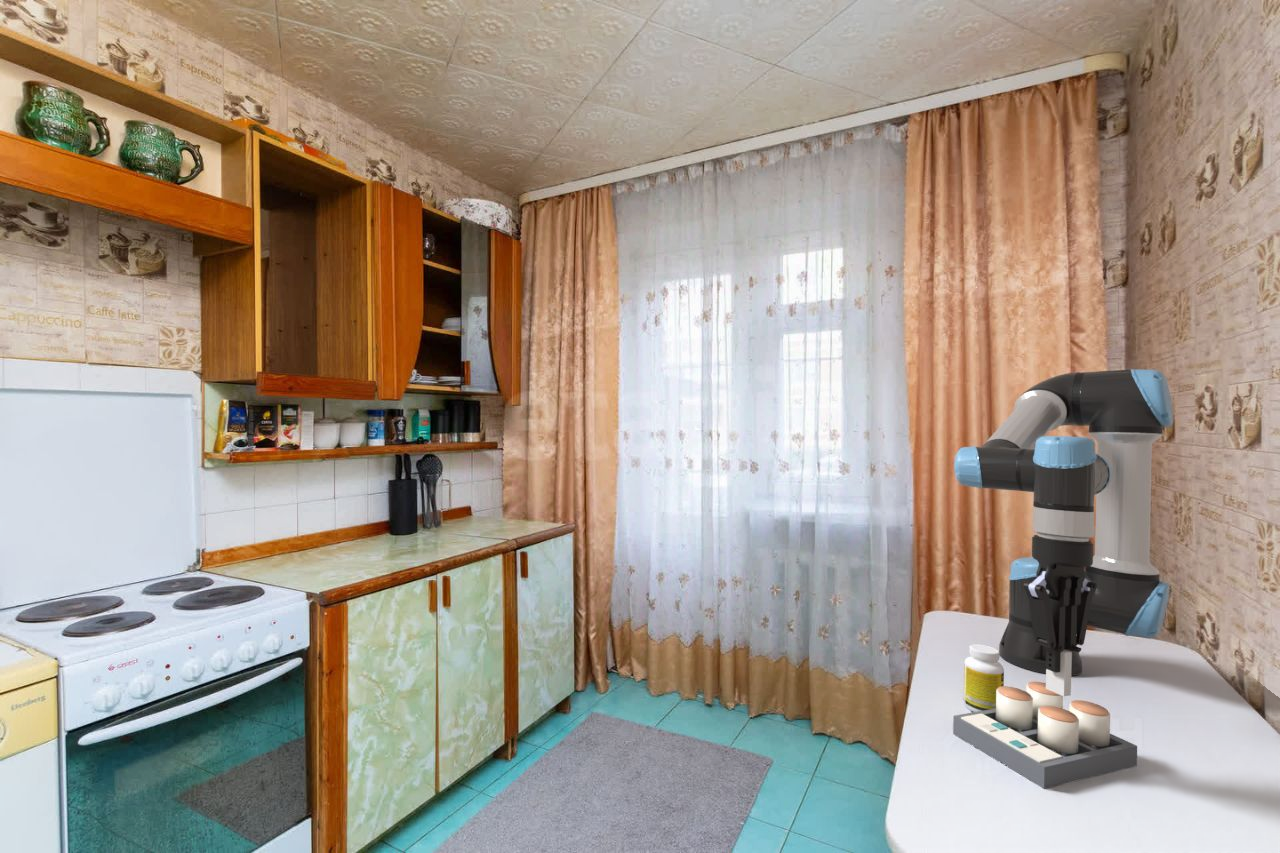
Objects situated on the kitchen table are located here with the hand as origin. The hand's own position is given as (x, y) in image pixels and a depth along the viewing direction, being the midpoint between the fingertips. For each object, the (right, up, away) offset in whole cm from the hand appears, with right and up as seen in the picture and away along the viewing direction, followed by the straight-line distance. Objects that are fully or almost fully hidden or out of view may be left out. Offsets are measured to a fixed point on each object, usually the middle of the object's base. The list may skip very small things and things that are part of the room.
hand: (1058, 691), depth 86 cm
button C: (-2, -8, +7) cm, 11 cm away
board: (0, -11, +4) cm, 12 cm away
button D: (0, -8, 0) cm, 8 cm away
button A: (+4, -8, +9) cm, 13 cm away
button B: (+7, -8, +2) cm, 11 cm away
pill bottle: (-1, -11, +17) cm, 20 cm away
